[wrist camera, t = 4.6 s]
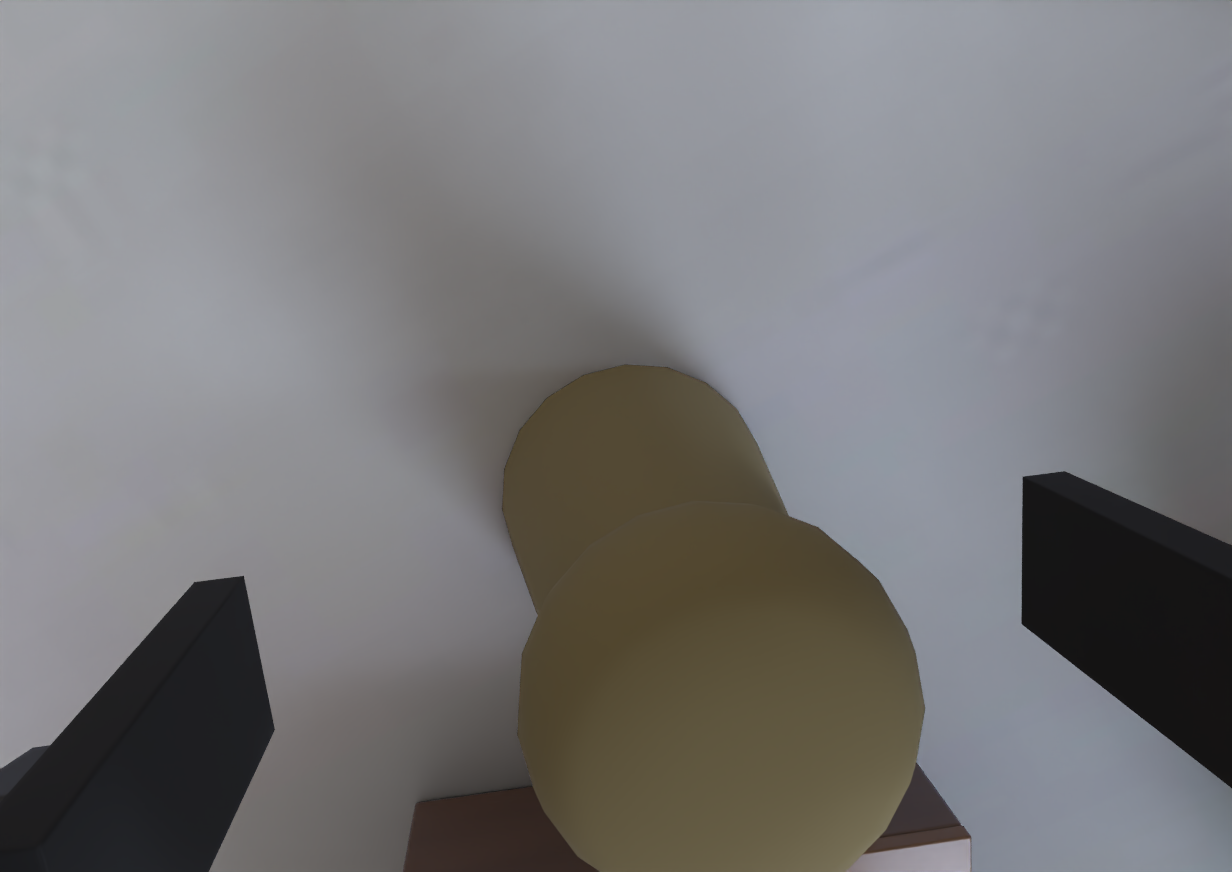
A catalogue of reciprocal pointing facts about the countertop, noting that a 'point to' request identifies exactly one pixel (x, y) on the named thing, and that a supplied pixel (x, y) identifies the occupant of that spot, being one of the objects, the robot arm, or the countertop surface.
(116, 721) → the robot arm
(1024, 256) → the countertop surface
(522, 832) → the brown wooden stepped block
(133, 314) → the countertop surface
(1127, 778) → the countertop surface
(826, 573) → the pale yellow rounded piece
